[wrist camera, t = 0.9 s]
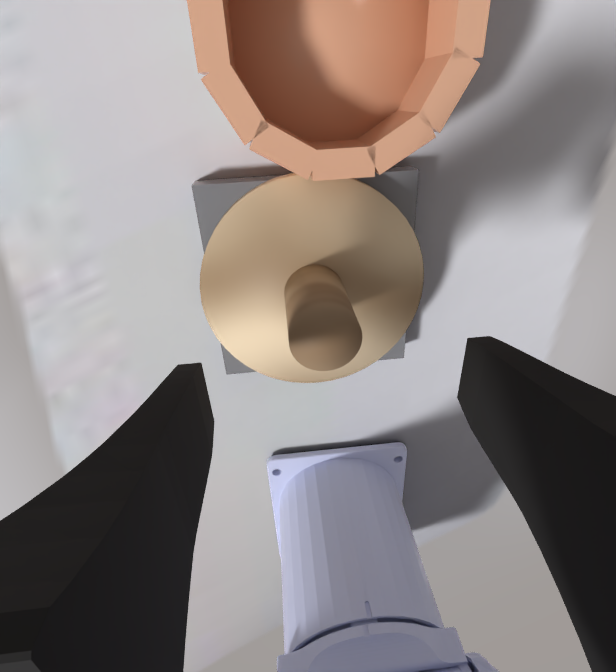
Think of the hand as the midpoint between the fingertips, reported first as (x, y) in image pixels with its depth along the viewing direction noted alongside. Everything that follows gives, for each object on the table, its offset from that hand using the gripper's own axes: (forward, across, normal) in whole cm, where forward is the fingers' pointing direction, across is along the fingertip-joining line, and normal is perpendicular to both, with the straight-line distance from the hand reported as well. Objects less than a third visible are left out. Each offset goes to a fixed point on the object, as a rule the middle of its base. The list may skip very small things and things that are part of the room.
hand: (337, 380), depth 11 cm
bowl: (+8, -1, -8) cm, 12 cm away
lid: (+7, 0, 0) cm, 7 cm away
